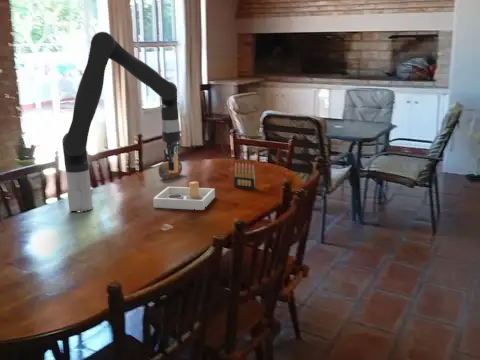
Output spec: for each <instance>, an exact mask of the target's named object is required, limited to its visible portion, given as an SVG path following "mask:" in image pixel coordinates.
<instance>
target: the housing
mask: <svg viewBox="0 0 480 360" xmlns="http://www.w3.org/2000/svg"><path fill="white" fill-rule="evenodd" d="M188 184H189V187H185V186H167V187H165V188H164V189H163V190H162V191H161V192H159V193H158V194H157V195H156V196H154V197H153V198H152V201H153V208H156V209H157V208H161V209H179V210H194V209H195V210H196V211H199V210H200V211H204V210H205V209H206V208H207V207H208V205H209V204H210V203H211V202H212V201H213V200H214V199H215V198H216V196H215V195H216V192H215V188H207V187H200V185H199V181H190V182H189V183H188ZM205 207H206V208H205ZM195 210H194V211H195Z"/></svg>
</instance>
